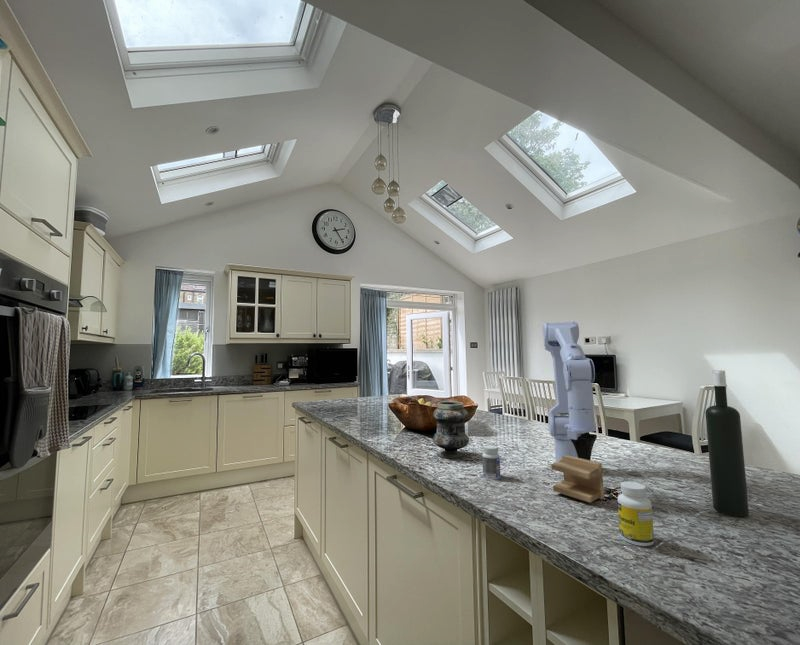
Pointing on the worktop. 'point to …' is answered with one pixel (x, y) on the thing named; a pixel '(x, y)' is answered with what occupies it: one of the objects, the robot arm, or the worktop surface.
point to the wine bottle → (726, 453)
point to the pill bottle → (491, 462)
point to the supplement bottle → (635, 514)
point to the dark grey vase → (450, 429)
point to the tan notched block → (580, 478)
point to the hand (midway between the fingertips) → (584, 464)
